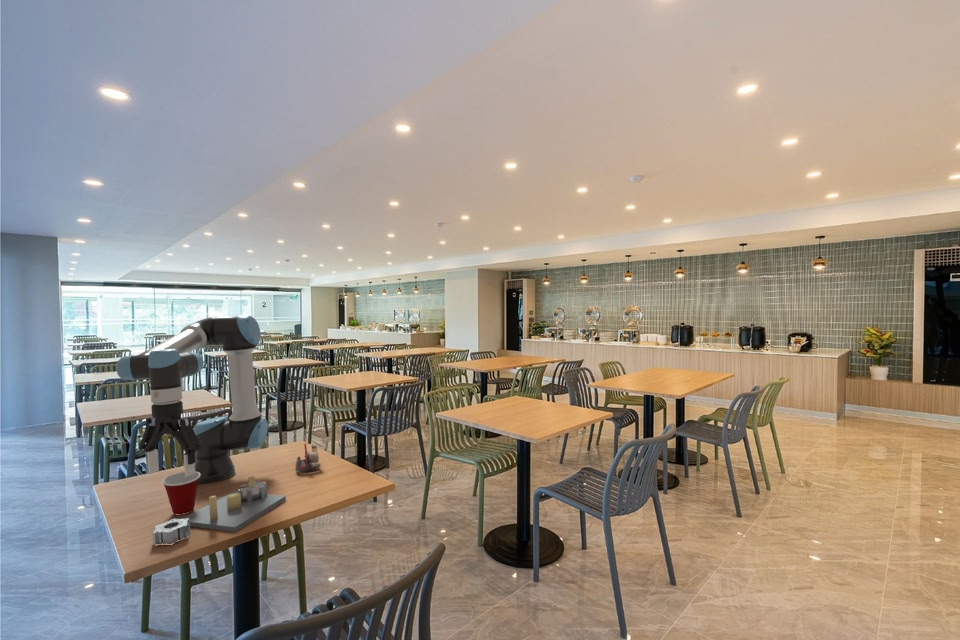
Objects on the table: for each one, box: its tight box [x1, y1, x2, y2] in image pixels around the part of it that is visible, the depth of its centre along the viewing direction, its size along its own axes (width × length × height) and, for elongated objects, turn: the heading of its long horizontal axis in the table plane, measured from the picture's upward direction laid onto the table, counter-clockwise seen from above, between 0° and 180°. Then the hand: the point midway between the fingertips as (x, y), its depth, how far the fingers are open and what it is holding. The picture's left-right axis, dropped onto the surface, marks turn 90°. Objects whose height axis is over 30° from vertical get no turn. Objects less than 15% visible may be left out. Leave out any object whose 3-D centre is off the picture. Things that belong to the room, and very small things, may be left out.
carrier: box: [181, 475, 287, 533], centre depth 148 cm, size 22×22×8 cm
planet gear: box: [152, 518, 191, 545], centre depth 132 cm, size 9×9×4 cm
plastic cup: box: [161, 471, 201, 515], centre depth 150 cm, size 11×11×12 cm
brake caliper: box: [295, 443, 322, 476], centre depth 185 cm, size 11×11×12 cm
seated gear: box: [237, 480, 268, 503], centre depth 156 cm, size 9×8×4 cm
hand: (171, 473), depth 132 cm, fingers open, 13 cm apart
